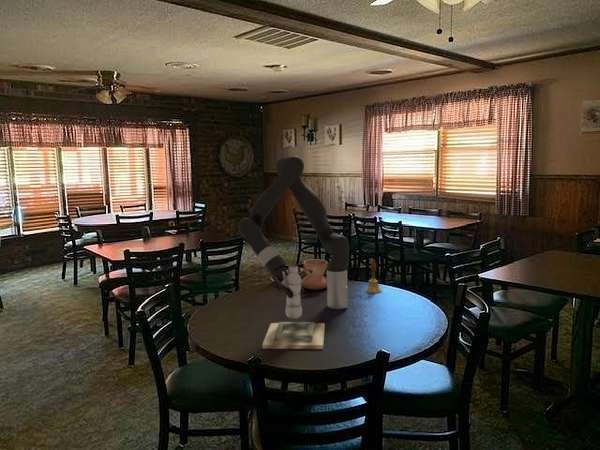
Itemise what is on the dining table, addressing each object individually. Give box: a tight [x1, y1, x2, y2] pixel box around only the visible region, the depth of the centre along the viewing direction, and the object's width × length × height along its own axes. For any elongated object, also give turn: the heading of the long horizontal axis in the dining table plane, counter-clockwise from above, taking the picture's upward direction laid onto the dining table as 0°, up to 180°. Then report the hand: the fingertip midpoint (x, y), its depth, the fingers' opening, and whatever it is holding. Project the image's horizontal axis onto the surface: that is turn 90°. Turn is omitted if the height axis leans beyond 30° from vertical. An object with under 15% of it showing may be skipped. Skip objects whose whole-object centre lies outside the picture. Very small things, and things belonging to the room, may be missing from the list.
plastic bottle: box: [284, 264, 303, 320], centre depth 180 cm, size 6×7×20 cm
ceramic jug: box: [299, 258, 328, 291], centre depth 247 cm, size 18×14×14 cm
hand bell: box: [364, 259, 383, 294], centre depth 238 cm, size 8×8×16 cm
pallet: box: [261, 321, 326, 350], centre depth 182 cm, size 22×22×4 cm
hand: (297, 294), depth 179 cm, fingers closed on plastic bottle, 6 cm apart
